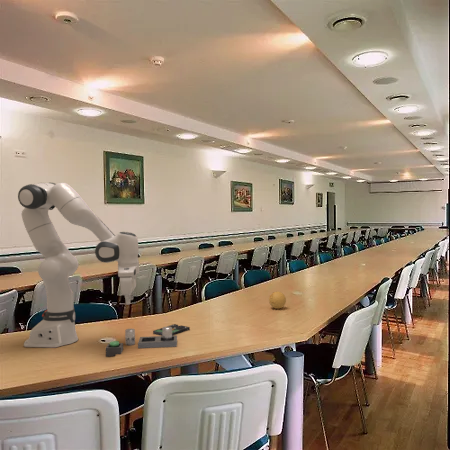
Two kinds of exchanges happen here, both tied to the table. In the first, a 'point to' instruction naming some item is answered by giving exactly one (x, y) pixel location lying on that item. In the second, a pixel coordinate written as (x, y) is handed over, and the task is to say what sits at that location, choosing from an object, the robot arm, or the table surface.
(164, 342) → the block
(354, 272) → the table surface
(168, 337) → the billet
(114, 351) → the button housing
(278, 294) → the stress ball
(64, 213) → the robot arm
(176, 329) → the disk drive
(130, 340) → the billet
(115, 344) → the button
